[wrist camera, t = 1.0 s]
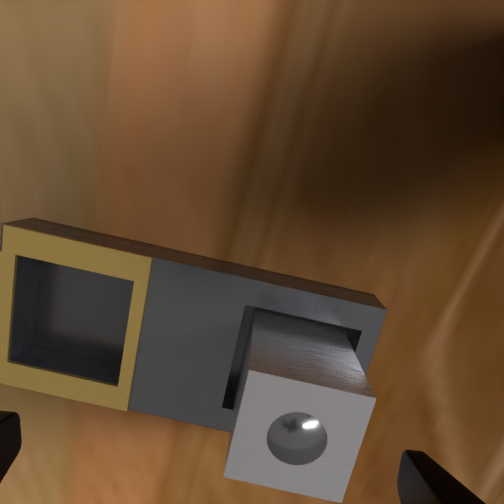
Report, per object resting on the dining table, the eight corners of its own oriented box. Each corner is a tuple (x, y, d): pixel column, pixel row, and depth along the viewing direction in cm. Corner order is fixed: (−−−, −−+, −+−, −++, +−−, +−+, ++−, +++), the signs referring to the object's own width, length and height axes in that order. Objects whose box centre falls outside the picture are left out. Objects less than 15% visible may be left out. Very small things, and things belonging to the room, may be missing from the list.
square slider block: (340, 323, 21) (376, 398, 14) (318, 399, 22) (341, 503, 15) (255, 304, 21) (249, 370, 14) (237, 381, 22) (223, 477, 15)
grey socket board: (373, 294, 21) (388, 311, 18) (332, 427, 23) (340, 459, 20) (32, 217, 21) (-1, 224, 18) (21, 357, 23) (-11, 381, 20)
